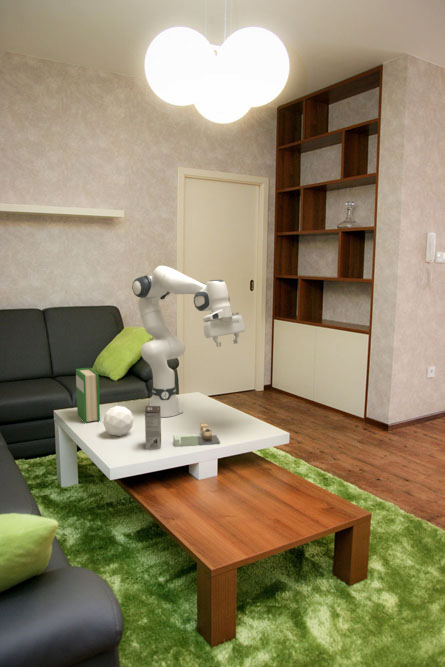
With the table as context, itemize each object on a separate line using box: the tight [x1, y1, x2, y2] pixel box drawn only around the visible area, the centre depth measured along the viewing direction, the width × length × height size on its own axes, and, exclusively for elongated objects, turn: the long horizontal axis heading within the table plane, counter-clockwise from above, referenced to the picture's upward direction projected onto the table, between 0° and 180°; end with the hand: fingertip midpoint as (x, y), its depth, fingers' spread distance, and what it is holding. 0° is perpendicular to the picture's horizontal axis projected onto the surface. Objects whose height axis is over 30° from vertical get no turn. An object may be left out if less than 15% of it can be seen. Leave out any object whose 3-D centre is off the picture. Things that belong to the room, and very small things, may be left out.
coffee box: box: [144, 405, 162, 450], centre depth 223 cm, size 9×6×16 cm
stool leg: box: [199, 422, 213, 440], centre depth 234 cm, size 14×4×4 cm, turn 11°
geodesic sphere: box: [102, 404, 135, 437], centre depth 238 cm, size 14×14×14 cm
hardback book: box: [75, 367, 101, 424], centre depth 264 cm, size 18×7×24 cm, turn 26°
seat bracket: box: [172, 433, 199, 448], centre depth 226 cm, size 6×10×4 cm, turn 101°
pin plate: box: [197, 434, 221, 446], centre depth 229 cm, size 9×9×1 cm
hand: (227, 345), depth 237 cm, fingers open, 8 cm apart
